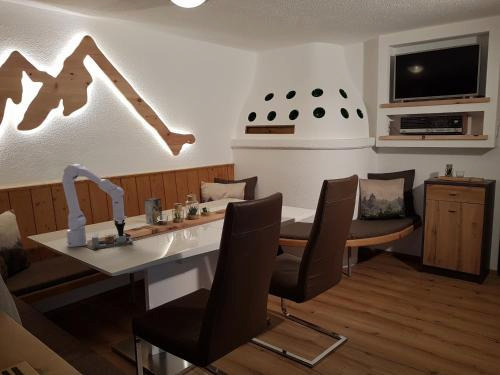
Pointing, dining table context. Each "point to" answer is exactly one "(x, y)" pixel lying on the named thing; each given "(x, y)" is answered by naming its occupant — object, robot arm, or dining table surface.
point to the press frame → (96, 243)
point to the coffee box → (153, 210)
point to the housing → (109, 239)
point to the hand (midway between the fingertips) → (120, 233)
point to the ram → (120, 238)
